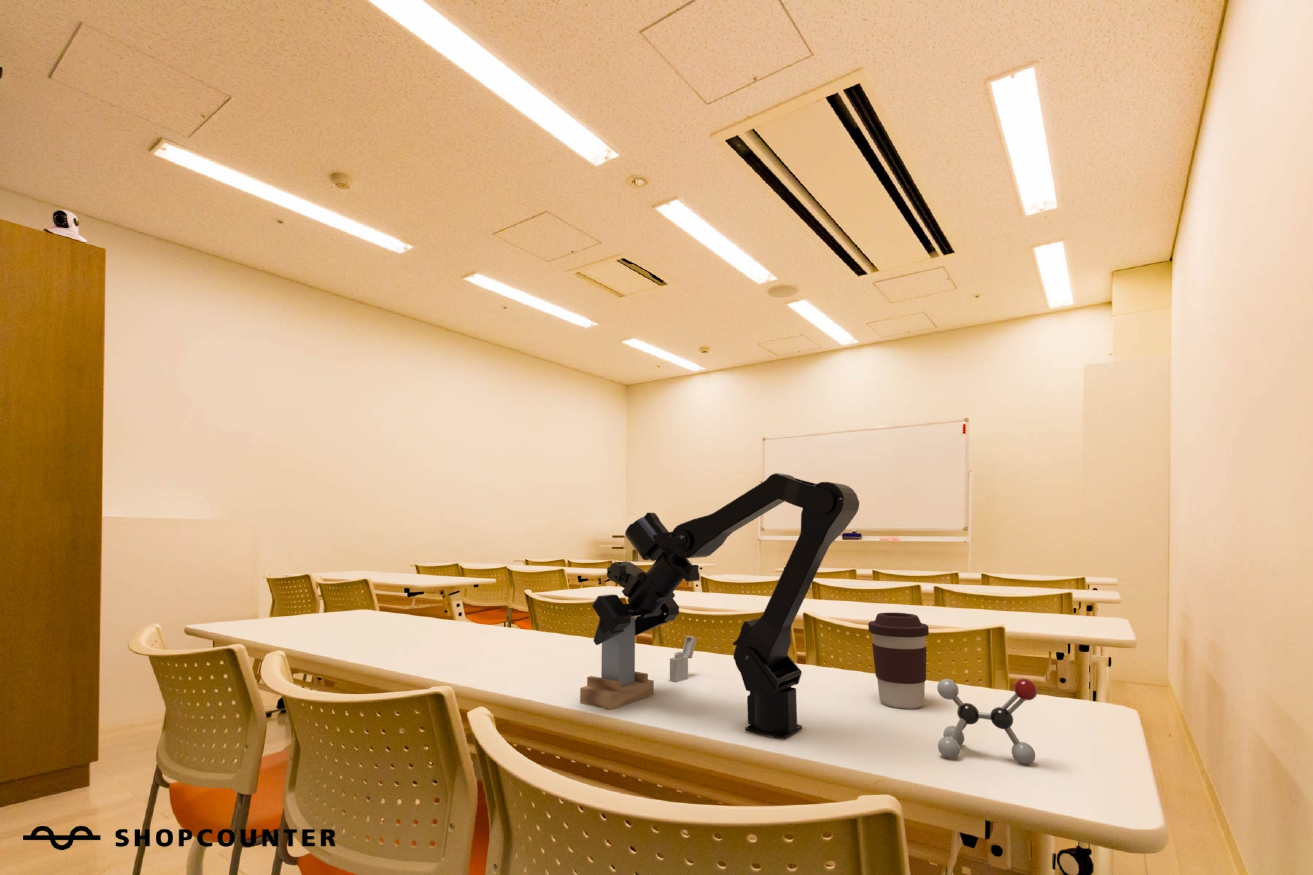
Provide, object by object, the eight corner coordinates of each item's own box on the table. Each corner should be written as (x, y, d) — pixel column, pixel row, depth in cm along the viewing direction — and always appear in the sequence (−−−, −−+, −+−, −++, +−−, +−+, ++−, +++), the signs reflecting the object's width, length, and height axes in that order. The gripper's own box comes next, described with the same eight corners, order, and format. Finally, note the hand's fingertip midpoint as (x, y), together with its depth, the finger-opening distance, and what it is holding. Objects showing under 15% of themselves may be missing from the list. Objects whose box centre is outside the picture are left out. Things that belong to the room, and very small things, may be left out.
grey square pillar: (634, 683, 114) (635, 608, 116) (618, 688, 110) (619, 611, 112) (617, 679, 116) (618, 607, 118) (601, 684, 113) (602, 609, 114)
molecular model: (945, 741, 90) (940, 663, 92) (1043, 757, 84) (1036, 673, 86) (937, 759, 83) (932, 674, 85) (1043, 777, 77) (1036, 686, 79)
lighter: (676, 682, 125) (676, 640, 126) (669, 680, 126) (669, 639, 127) (697, 675, 131) (696, 635, 132) (690, 674, 132) (689, 634, 133)
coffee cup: (946, 708, 107) (940, 616, 109) (899, 714, 103) (895, 619, 106) (903, 694, 116) (899, 610, 118) (859, 699, 112) (855, 612, 115)
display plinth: (653, 694, 116) (653, 671, 116) (610, 709, 106) (610, 684, 107) (624, 688, 120) (624, 666, 120) (580, 702, 110) (580, 678, 111)
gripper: (666, 545, 122) (621, 600, 127) (601, 547, 107) (553, 609, 112) (701, 589, 116) (652, 645, 121) (637, 598, 101) (585, 661, 106)
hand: (612, 639), depth 115 cm, fingers open, 9 cm apart
